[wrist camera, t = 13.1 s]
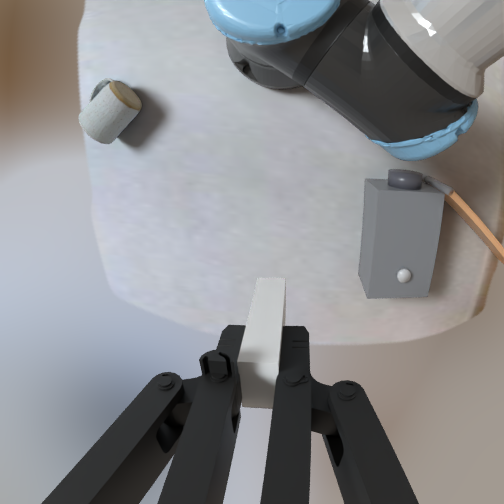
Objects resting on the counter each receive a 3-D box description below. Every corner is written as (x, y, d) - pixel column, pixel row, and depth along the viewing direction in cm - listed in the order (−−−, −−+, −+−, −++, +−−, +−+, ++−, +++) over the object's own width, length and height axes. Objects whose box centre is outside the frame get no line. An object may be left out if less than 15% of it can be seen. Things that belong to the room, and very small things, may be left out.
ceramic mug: (152, 108, 44) (128, 107, 37) (120, 143, 47) (94, 147, 40) (116, 68, 42) (90, 62, 35) (87, 102, 45) (60, 102, 38)
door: (423, 180, 43) (444, 192, 36) (430, 170, 42) (453, 180, 35) (497, 259, 46) (519, 279, 38) (504, 251, 45) (526, 269, 38)
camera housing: (365, 165, 44) (380, 175, 36) (424, 169, 42) (448, 180, 34) (358, 273, 51) (368, 301, 43) (412, 273, 50) (429, 299, 42)
